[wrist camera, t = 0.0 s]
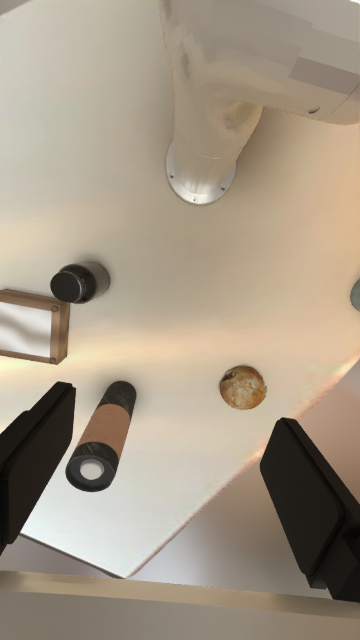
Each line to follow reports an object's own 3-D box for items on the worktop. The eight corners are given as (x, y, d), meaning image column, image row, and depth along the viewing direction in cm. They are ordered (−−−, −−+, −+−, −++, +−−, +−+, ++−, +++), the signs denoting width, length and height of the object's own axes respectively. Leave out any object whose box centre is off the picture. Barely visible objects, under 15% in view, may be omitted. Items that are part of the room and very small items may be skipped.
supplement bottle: (74, 290, 44) (38, 301, 33) (81, 257, 42) (45, 257, 31) (106, 300, 45) (82, 314, 33) (114, 269, 43) (92, 272, 32)
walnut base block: (6, 289, 44) (-13, 292, 40) (70, 301, 45) (59, 305, 41) (7, 346, 47) (-10, 355, 43) (66, 356, 48) (56, 366, 44)
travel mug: (100, 385, 51) (54, 463, 31) (130, 375, 50) (101, 448, 31) (114, 411, 53) (78, 498, 33) (142, 401, 52) (123, 484, 33)
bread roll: (237, 354, 53) (233, 362, 46) (275, 380, 50) (278, 392, 43) (216, 385, 56) (209, 397, 48) (251, 411, 53) (249, 428, 45)
